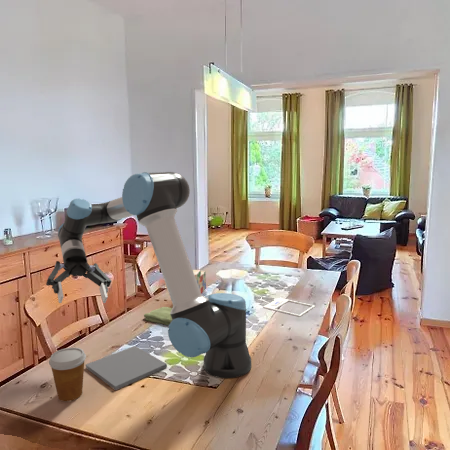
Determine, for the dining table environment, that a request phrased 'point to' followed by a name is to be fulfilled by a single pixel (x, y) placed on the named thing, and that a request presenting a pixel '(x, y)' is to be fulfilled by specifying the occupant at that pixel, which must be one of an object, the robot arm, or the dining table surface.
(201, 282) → the printed cardboard box
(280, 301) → the photo frame
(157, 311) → the washcloth
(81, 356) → the disposable coffee cup
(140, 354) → the slate tile
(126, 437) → the dining table surface
